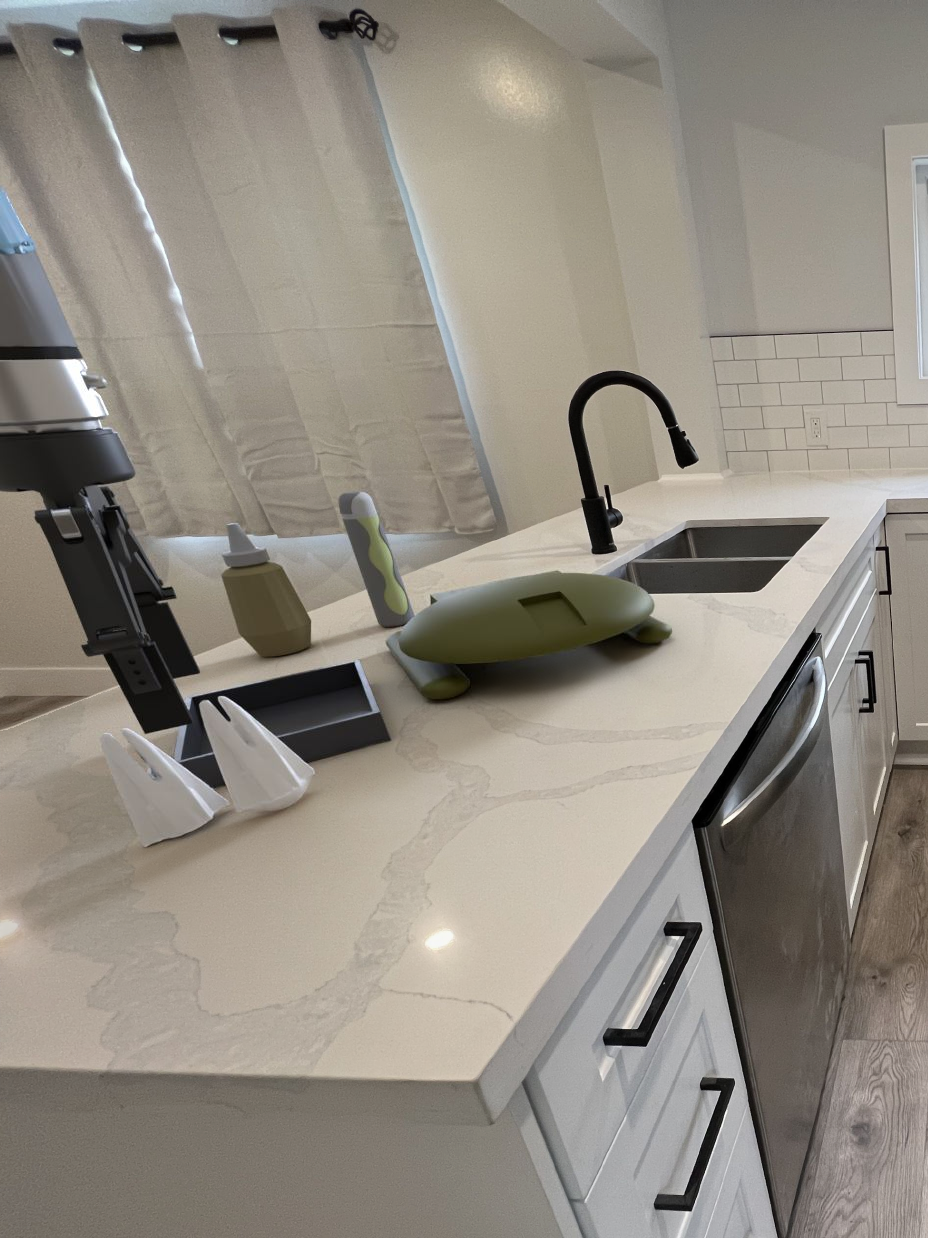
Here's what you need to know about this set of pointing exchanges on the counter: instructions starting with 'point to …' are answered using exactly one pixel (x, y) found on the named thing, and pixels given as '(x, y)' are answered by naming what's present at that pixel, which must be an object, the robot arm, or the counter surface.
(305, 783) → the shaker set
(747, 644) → the counter surface
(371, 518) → the grey and green bar
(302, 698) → the dark grey tray
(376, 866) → the counter surface
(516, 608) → the spaceship
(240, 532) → the squeeze bottle
